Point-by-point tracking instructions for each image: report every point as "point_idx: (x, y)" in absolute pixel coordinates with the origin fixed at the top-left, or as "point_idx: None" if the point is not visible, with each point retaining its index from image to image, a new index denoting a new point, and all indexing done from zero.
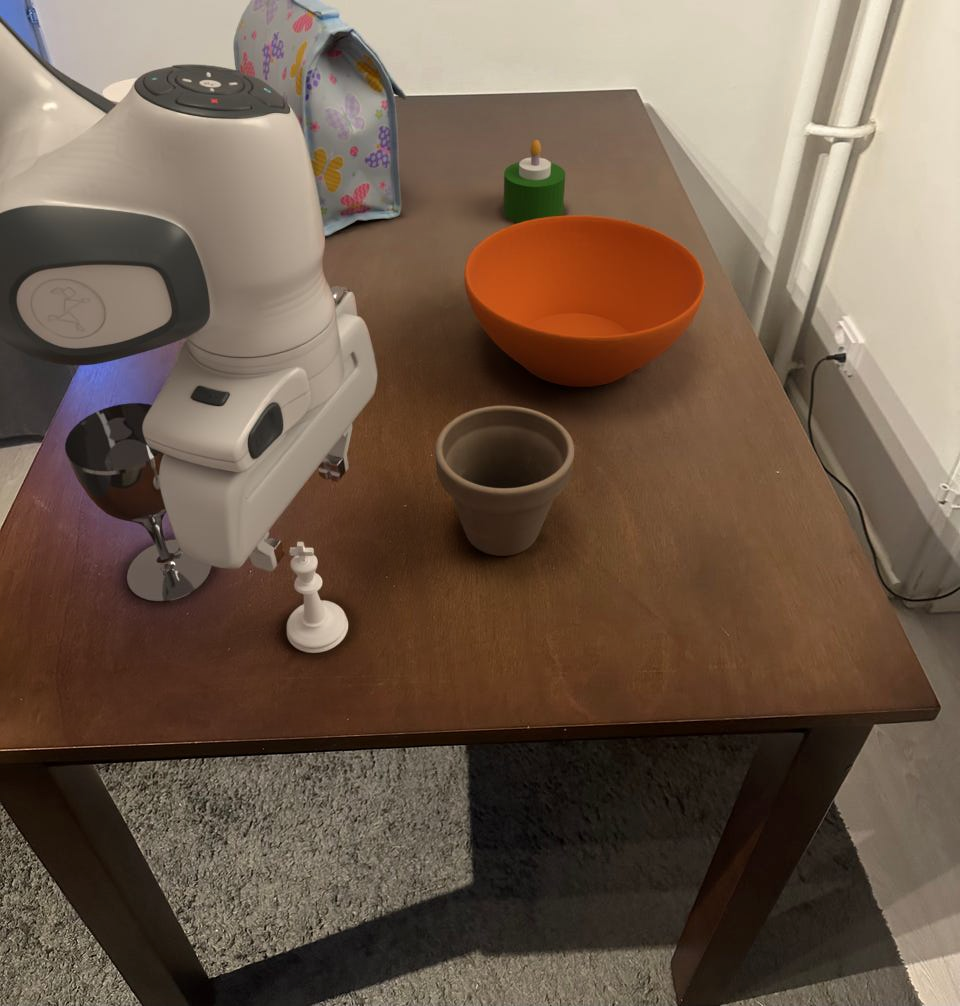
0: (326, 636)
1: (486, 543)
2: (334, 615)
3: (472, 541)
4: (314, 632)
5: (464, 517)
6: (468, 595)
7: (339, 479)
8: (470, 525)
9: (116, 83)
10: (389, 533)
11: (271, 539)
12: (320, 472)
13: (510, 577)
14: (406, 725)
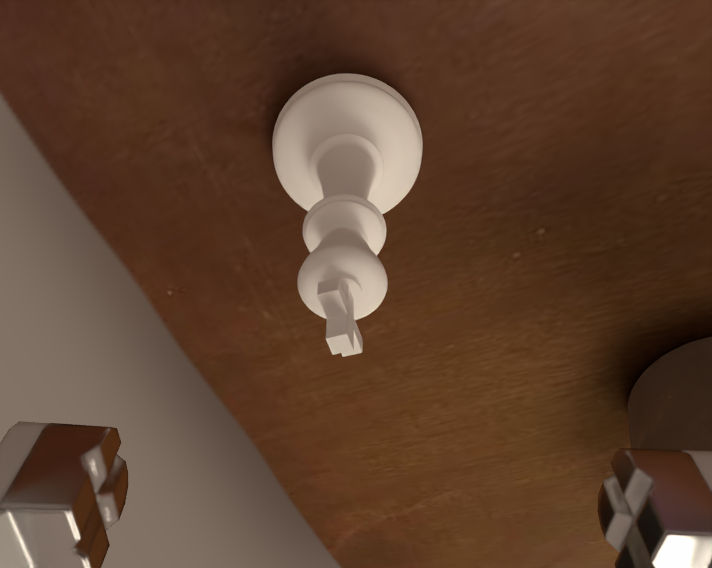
0: (312, 202)
1: (636, 421)
2: (375, 196)
3: (654, 377)
4: (309, 176)
5: (680, 432)
6: (518, 381)
7: (600, 521)
8: (662, 432)
9: None
10: (691, 185)
11: (76, 558)
12: (633, 469)
13: (576, 426)
14: (207, 376)
